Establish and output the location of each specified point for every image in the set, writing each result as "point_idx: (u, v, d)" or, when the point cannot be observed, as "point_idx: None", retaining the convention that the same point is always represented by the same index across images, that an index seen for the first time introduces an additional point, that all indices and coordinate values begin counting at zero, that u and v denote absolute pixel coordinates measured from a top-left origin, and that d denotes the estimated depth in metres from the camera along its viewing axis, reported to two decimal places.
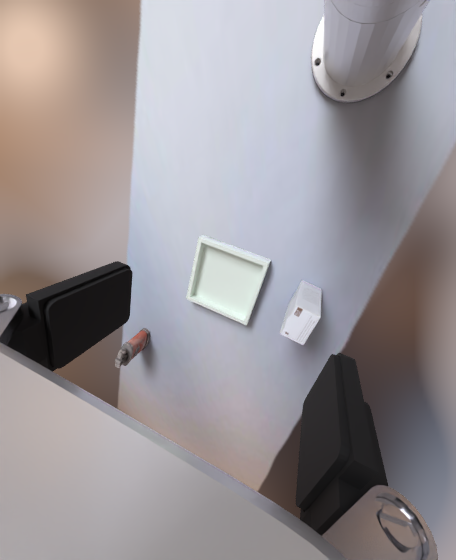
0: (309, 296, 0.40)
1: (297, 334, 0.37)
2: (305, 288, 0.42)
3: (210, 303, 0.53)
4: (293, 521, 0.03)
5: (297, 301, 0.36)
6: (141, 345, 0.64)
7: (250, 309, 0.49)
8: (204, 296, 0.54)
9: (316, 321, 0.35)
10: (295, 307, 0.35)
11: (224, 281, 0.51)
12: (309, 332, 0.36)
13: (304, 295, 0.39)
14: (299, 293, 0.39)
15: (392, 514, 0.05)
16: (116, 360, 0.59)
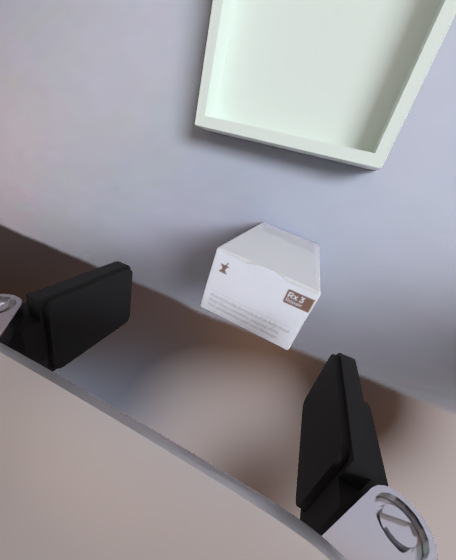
0: None
1: (226, 295, 0.13)
2: None
3: None
4: (293, 521, 0.03)
5: (319, 285, 0.13)
6: None
7: (240, 130, 0.19)
8: None
9: (274, 341, 0.13)
10: (312, 293, 0.12)
11: (311, 21, 0.16)
12: (239, 323, 0.14)
13: None
14: (319, 267, 0.16)
15: (392, 514, 0.05)
16: None
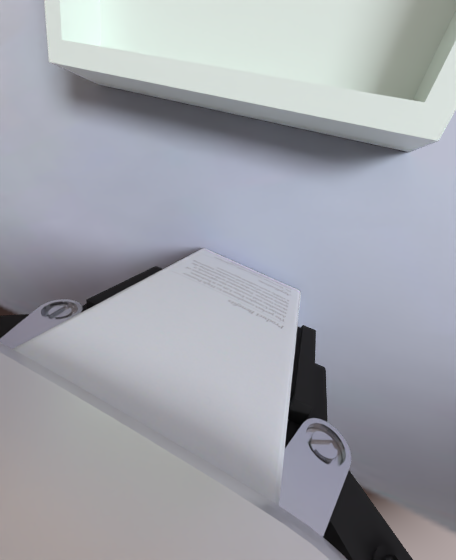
0: None
1: None
2: None
3: None
4: (293, 521, 0.03)
5: None
6: None
7: (128, 67, 0.09)
8: None
9: None
10: None
11: None
12: None
13: None
14: None
15: (319, 438, 0.06)
16: None
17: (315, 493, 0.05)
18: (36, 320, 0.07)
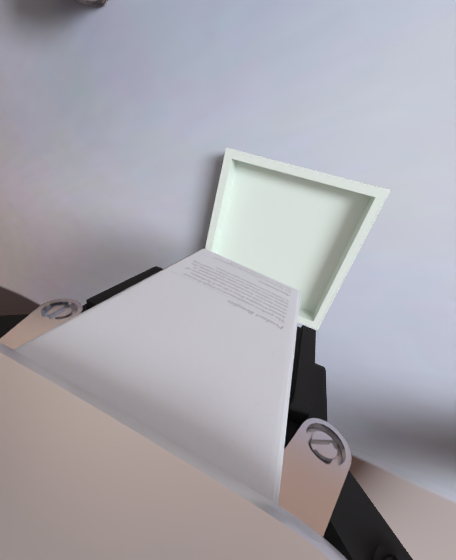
0: None
1: None
2: None
3: (224, 207, 0.26)
4: (293, 521, 0.03)
5: None
6: None
7: None
8: (235, 189, 0.26)
9: None
10: None
11: (273, 236, 0.26)
12: None
13: None
14: None
15: (319, 438, 0.06)
16: None
17: (315, 493, 0.05)
18: (36, 320, 0.07)
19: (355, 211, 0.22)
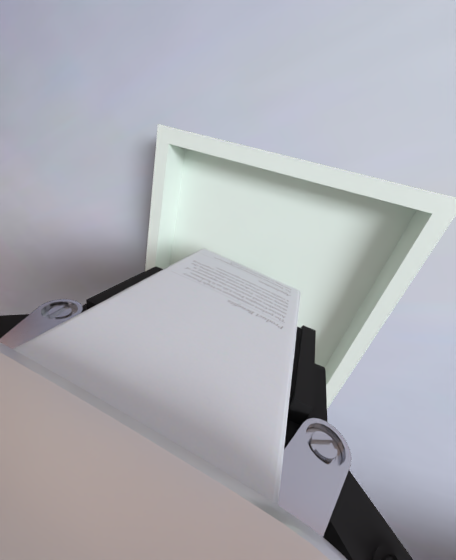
0: None
1: None
2: None
3: (168, 224, 0.16)
4: (293, 521, 0.03)
5: None
6: None
7: None
8: (186, 195, 0.16)
9: None
10: None
11: None
12: None
13: None
14: None
15: (319, 438, 0.06)
16: None
17: (315, 493, 0.05)
18: (36, 320, 0.07)
19: (385, 235, 0.13)
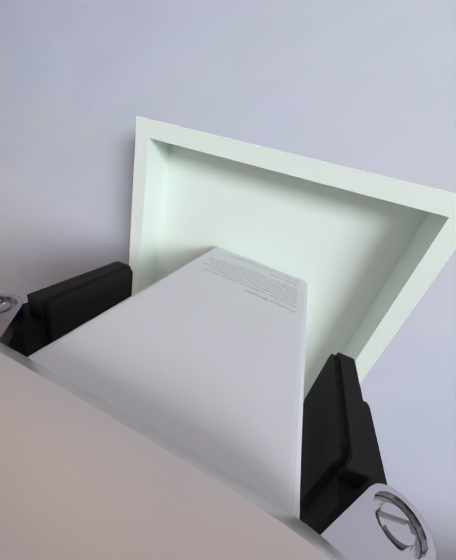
0: None
1: None
2: None
3: (153, 228, 0.15)
4: (293, 521, 0.03)
5: (298, 485, 0.04)
6: None
7: None
8: (172, 196, 0.14)
9: None
10: None
11: None
12: None
13: None
14: (303, 363, 0.07)
15: (391, 512, 0.05)
16: None
17: None
18: None
19: (393, 241, 0.11)
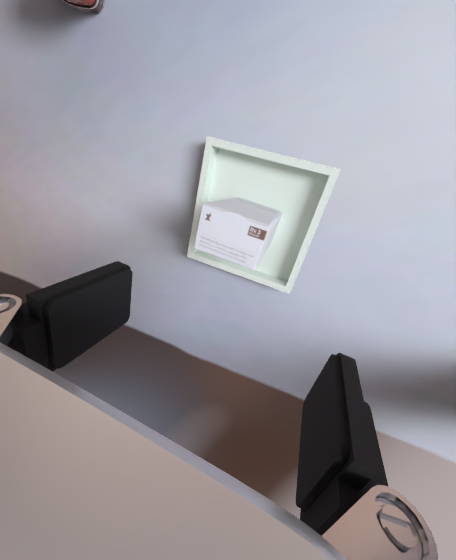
0: (271, 235, 0.24)
1: (211, 236, 0.20)
2: (277, 223, 0.26)
3: (207, 189, 0.30)
4: (293, 521, 0.03)
5: (271, 225, 0.20)
6: None
7: (213, 264, 0.32)
8: (217, 173, 0.30)
9: (244, 265, 0.20)
10: (265, 226, 0.18)
11: None
12: (221, 256, 0.20)
13: (273, 228, 0.23)
14: (276, 220, 0.23)
15: (392, 514, 0.05)
16: None
17: None
18: None
19: (316, 189, 0.27)
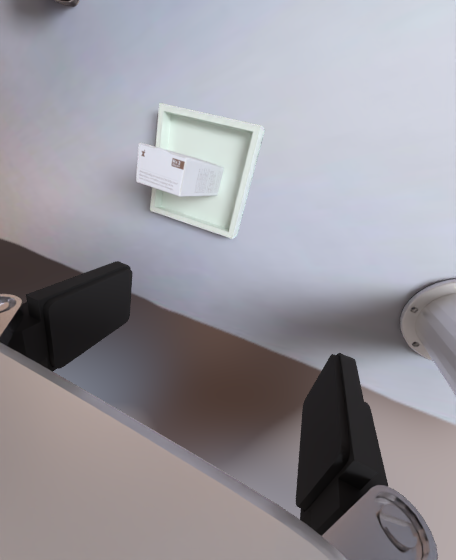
0: (204, 178, 0.30)
1: (146, 169, 0.26)
2: (213, 173, 0.32)
3: None
4: (293, 521, 0.03)
5: (192, 160, 0.25)
6: None
7: (171, 215, 0.38)
8: (171, 136, 0.36)
9: (172, 192, 0.26)
10: (183, 157, 0.24)
11: None
12: (155, 186, 0.26)
13: (204, 171, 0.29)
14: (205, 163, 0.28)
15: (392, 514, 0.05)
16: None
17: None
18: None
19: (248, 146, 0.32)
